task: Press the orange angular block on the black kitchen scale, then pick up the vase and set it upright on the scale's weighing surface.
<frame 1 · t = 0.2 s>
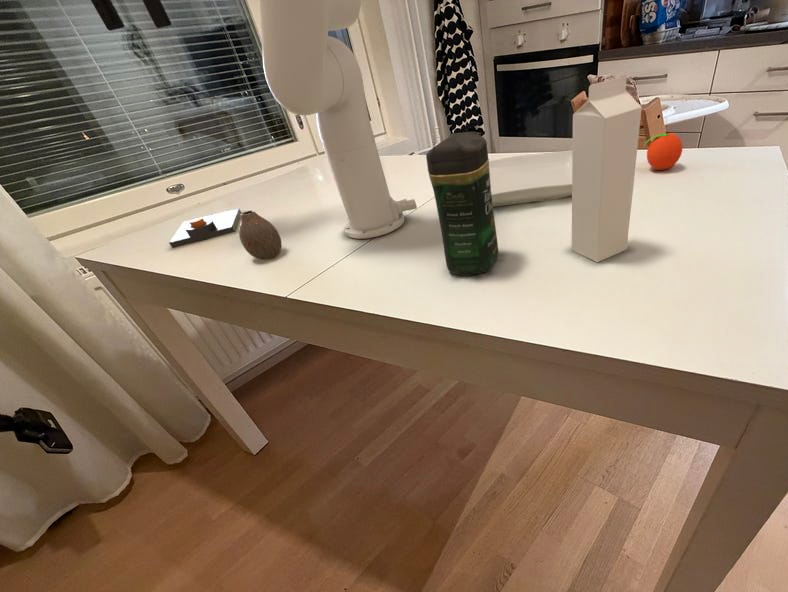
hand: (141, 27, 68), 37 cm above the table, tool pointing down, fingers open, 9 cm apart
coffee jar: (474, 264, 64), on the table
milk: (598, 251, 62), on the table
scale: (209, 229, 99), on the table
square plate: (526, 188, 89), on the table
tomato: (658, 170, 86), on the table
orange angular block: (197, 223, 92), point 3 cm above the table, slide at 0.1 cm
vase: (270, 256, 79), on the table
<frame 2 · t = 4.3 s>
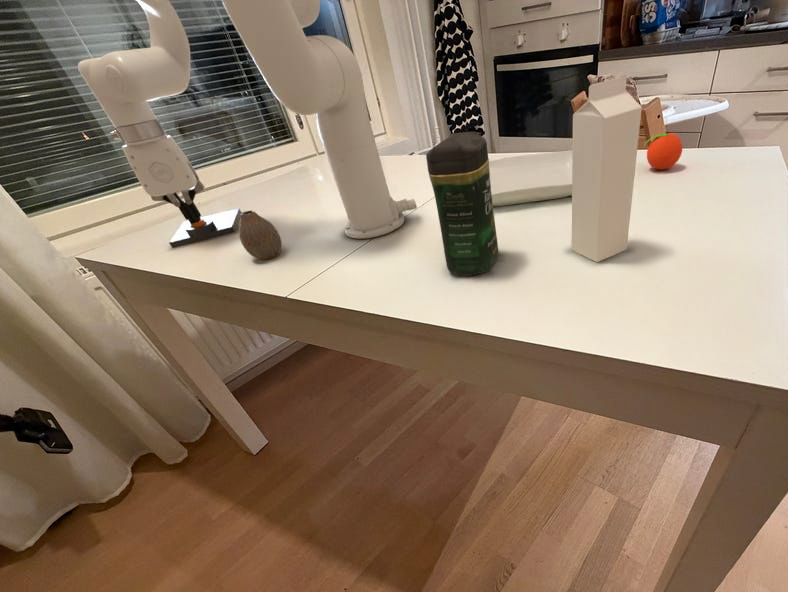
hand: (195, 221, 92), 4 cm above the table, tool pointing down, fingers closed
orange angular block: (198, 224, 93), point 3 cm above the table, slide at -0.2 cm, touching gripper
everything else where it was.
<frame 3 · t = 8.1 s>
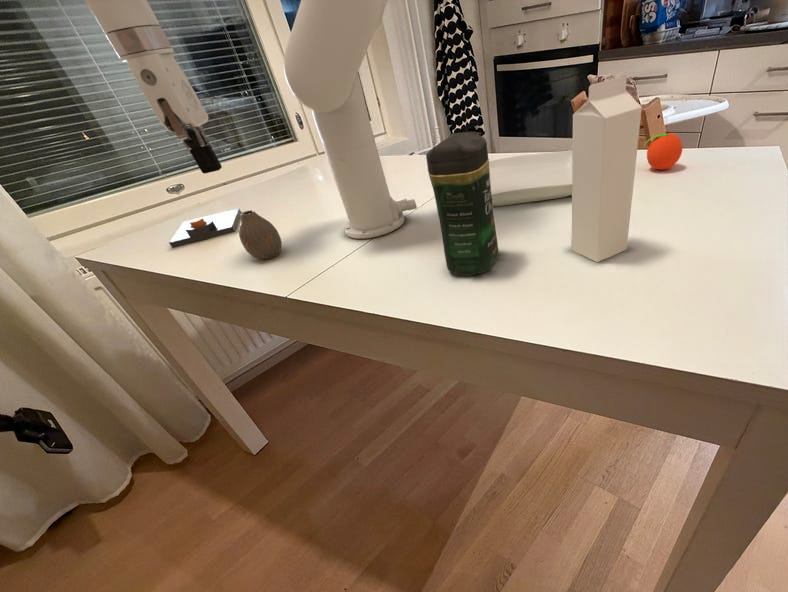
hand: (212, 170, 73), 16 cm above the table, tool pointing down, fingers closed
orange angular block: (197, 223, 92), point 3 cm above the table, slide at 0.1 cm
everything else where it was.
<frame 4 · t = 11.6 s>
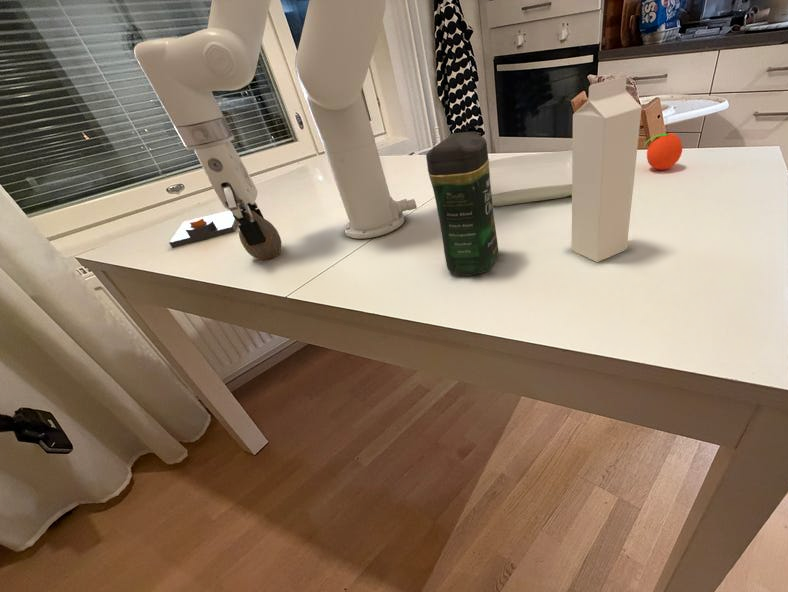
hand: (259, 236, 77), 4 cm above the table, tool pointing down, fingers closed on vase, 6 cm apart
vase: (269, 256, 79), on the table, touching gripper
everything else where it was.
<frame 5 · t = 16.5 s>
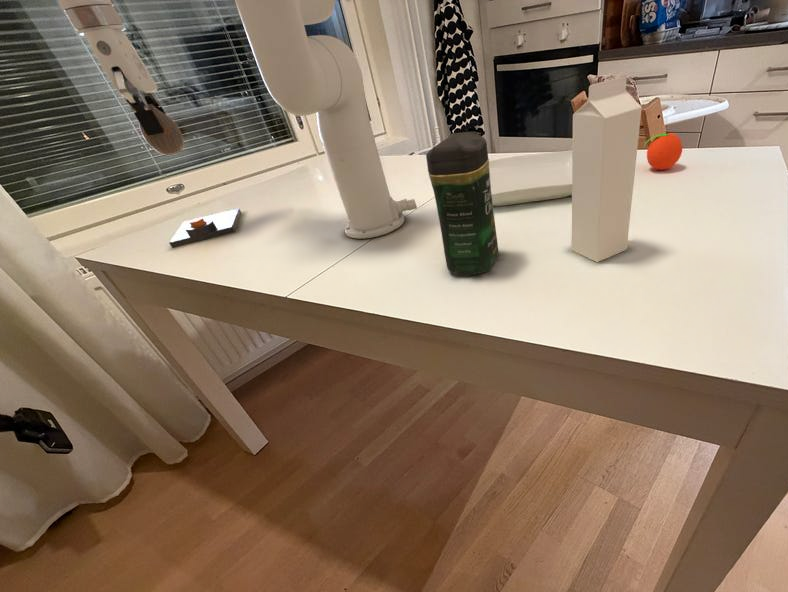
hand: (160, 130, 83), 22 cm above the table, tool pointing down, fingers closed on vase, 6 cm apart
vase: (173, 153, 86), point 17 cm above the table, touching gripper
everything else where it was.
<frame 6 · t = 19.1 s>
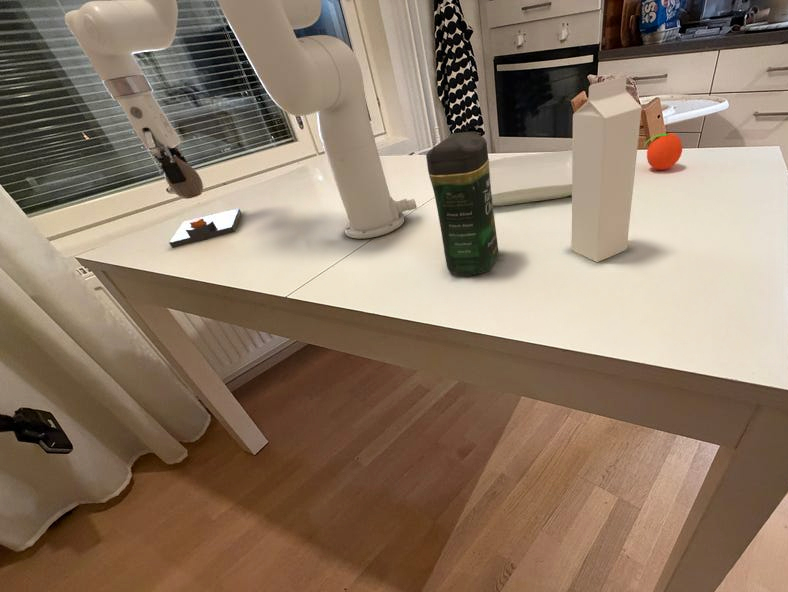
hand: (182, 178, 93), 12 cm above the table, tool pointing down, fingers closed on vase, 6 cm apart
vase: (193, 196, 96), point 7 cm above the table, touching gripper
everything else where it was.
when the fingers open (6 cm above the table, at t = 21.4 s): vase stays where it is, resting on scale.
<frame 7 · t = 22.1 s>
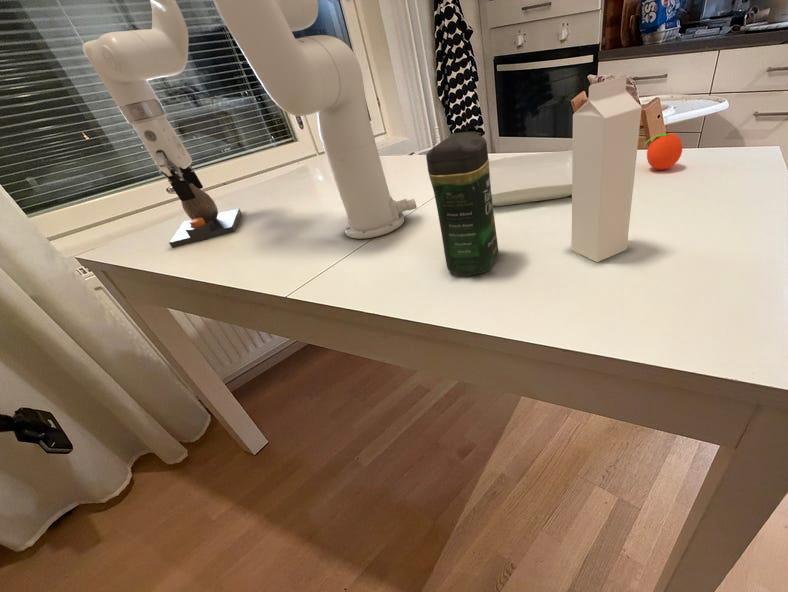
hand: (193, 194, 95), 8 cm above the table, tool pointing down, fingers open, 9 cm apart
vase: (208, 221, 100), point 1 cm above the table, touching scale
everything else where it was.
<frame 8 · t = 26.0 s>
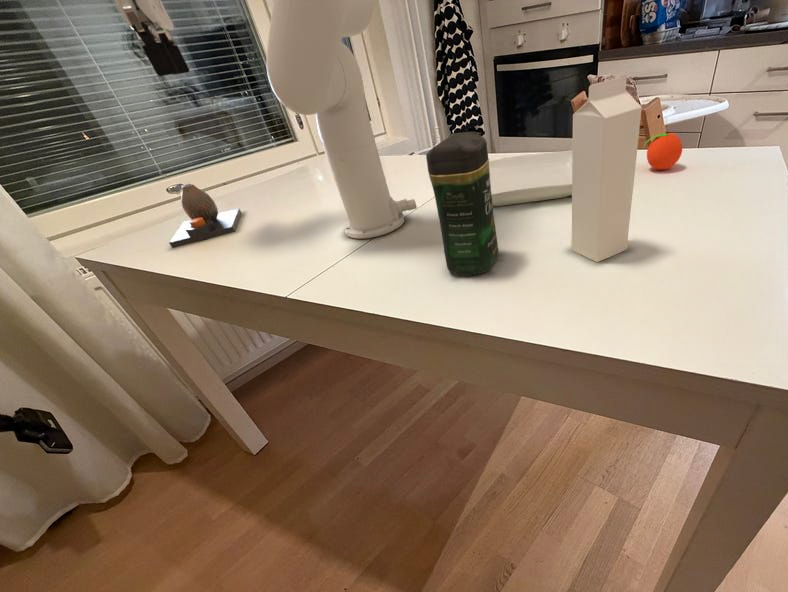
hand: (175, 73, 71), 30 cm above the table, tool pointing down, fingers open, 9 cm apart
nothing on the table moved.
at the end: orange angular block pushed in 0.9 cm at the most during the clip, back to where it started at the end; vase inside the target area on the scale (0.1 cm from its centre), point 1.2 cm above the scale's base; vase tilted 0° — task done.
